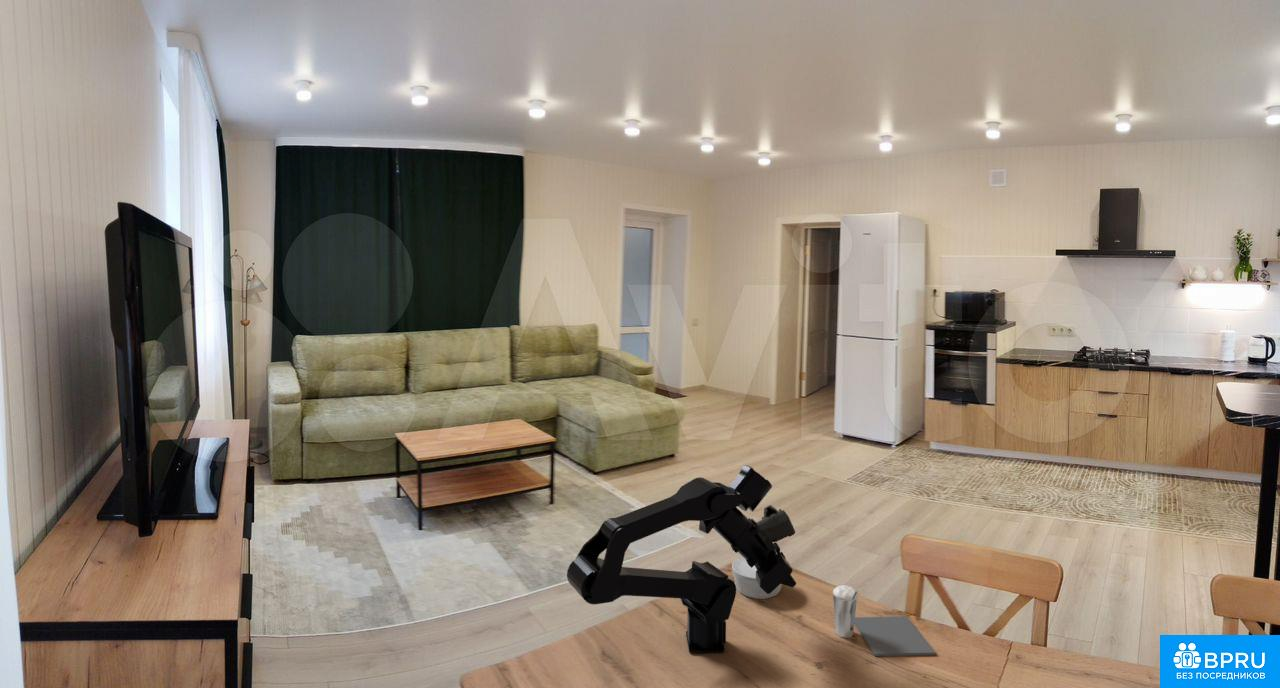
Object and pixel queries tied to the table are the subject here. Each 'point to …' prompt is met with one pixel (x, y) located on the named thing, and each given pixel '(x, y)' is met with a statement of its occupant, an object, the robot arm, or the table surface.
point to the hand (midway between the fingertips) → (794, 584)
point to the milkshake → (844, 610)
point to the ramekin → (749, 580)
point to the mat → (892, 636)
